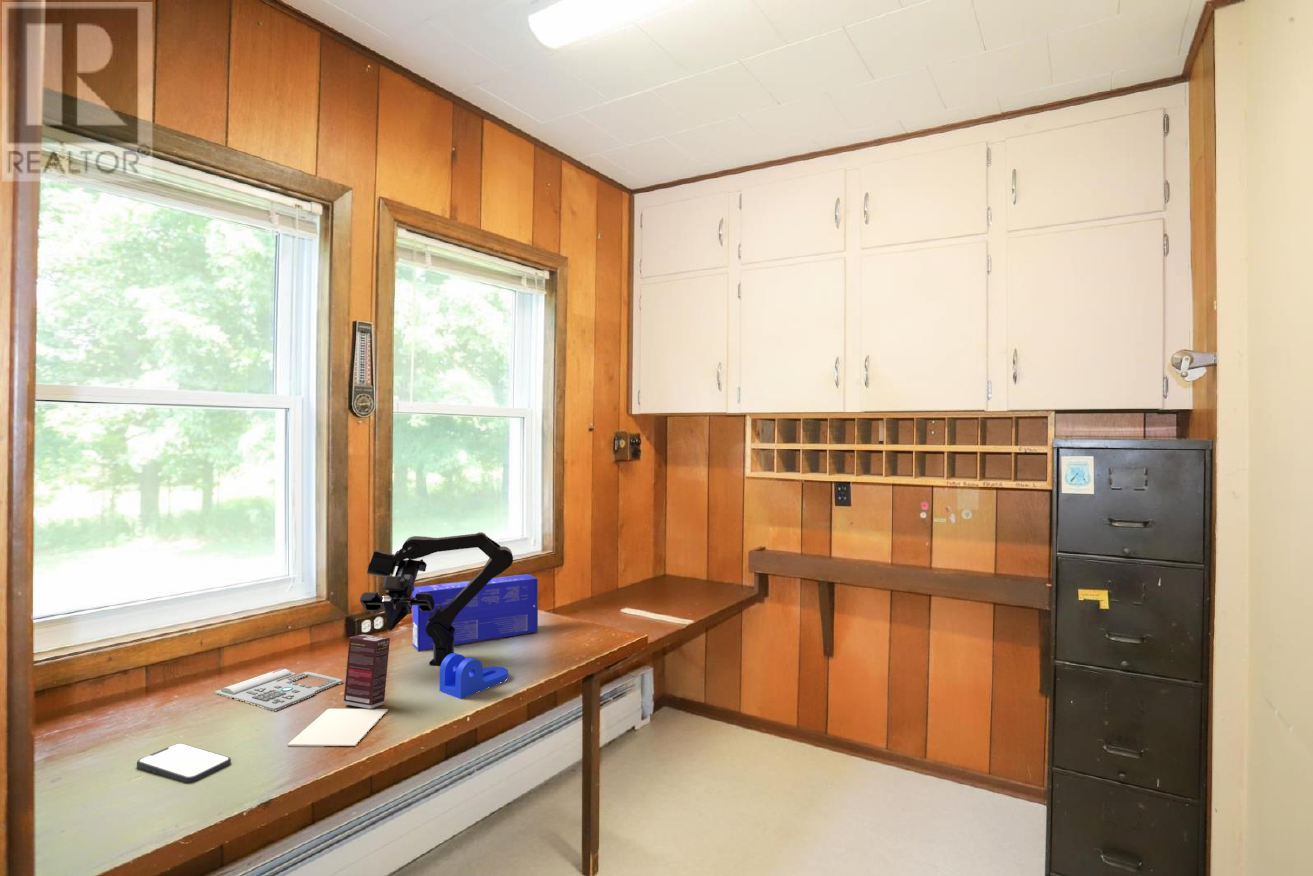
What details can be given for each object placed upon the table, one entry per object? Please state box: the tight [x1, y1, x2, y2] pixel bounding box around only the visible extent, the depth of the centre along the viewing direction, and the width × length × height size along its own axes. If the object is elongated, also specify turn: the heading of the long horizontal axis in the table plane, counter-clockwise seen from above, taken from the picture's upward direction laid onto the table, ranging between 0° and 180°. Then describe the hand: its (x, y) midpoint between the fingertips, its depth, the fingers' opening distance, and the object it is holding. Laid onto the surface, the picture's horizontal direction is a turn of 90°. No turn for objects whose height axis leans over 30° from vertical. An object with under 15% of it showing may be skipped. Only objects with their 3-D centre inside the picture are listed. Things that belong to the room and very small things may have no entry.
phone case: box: [136, 742, 232, 784], centre depth 129 cm, size 9×2×16 cm
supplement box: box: [342, 634, 391, 709], centre depth 159 cm, size 9×5×16 cm, turn 71°
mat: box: [287, 708, 389, 747], centre depth 147 cm, size 18×14×1 cm
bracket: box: [439, 652, 509, 700], centre depth 173 cm, size 18×8×9 cm, turn 145°
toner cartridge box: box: [412, 574, 539, 652], centre depth 212 cm, size 39×8×18 cm, turn 123°
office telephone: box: [214, 667, 343, 712], centre depth 168 cm, size 23×3×20 cm
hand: (389, 630), depth 174 cm, fingers closed
